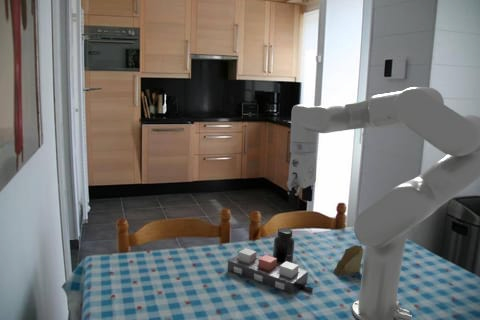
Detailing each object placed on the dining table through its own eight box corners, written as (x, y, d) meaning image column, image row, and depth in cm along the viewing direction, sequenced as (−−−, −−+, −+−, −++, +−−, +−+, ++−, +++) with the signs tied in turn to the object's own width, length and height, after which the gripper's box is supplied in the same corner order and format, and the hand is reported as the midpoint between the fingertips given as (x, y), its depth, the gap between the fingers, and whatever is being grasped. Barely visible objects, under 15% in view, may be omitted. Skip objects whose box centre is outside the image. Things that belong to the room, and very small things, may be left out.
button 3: (255, 268, 139) (256, 251, 138) (248, 273, 136) (249, 255, 135) (244, 265, 141) (245, 248, 140) (237, 269, 138) (238, 251, 137)
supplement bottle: (291, 269, 141) (294, 235, 139) (271, 267, 142) (273, 232, 140) (293, 261, 148) (296, 228, 145) (273, 258, 149) (276, 225, 146)
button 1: (297, 283, 131) (298, 265, 130) (290, 288, 128) (292, 269, 126) (284, 279, 133) (286, 261, 132) (278, 284, 130) (279, 265, 129)
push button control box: (318, 287, 130) (320, 275, 129) (303, 300, 122) (305, 287, 121) (245, 261, 145) (245, 250, 144) (227, 272, 137) (227, 260, 136)
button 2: (275, 276, 135) (276, 258, 134) (269, 280, 132) (270, 262, 131) (264, 272, 137) (265, 254, 136) (257, 276, 134) (258, 258, 133)
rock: (336, 274, 135) (368, 271, 135) (331, 247, 138) (362, 244, 139) (330, 280, 144) (359, 277, 145) (325, 254, 148) (354, 251, 148)
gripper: (302, 152, 116) (299, 213, 119) (326, 145, 131) (322, 200, 134) (278, 149, 120) (275, 208, 123) (303, 143, 135) (300, 196, 138)
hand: (300, 204), depth 128 cm, fingers open, 9 cm apart
